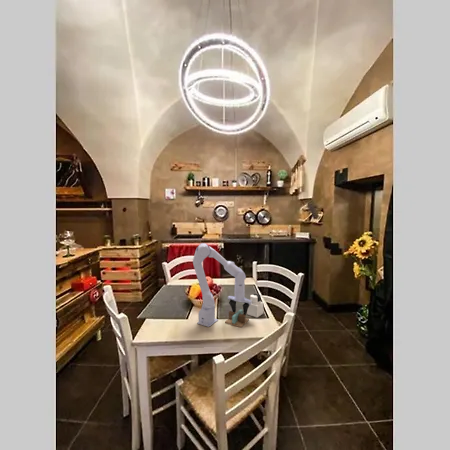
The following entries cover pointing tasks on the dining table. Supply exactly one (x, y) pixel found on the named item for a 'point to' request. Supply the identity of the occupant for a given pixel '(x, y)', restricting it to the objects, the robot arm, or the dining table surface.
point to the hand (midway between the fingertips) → (239, 314)
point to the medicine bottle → (255, 306)
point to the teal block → (236, 316)
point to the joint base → (241, 319)
